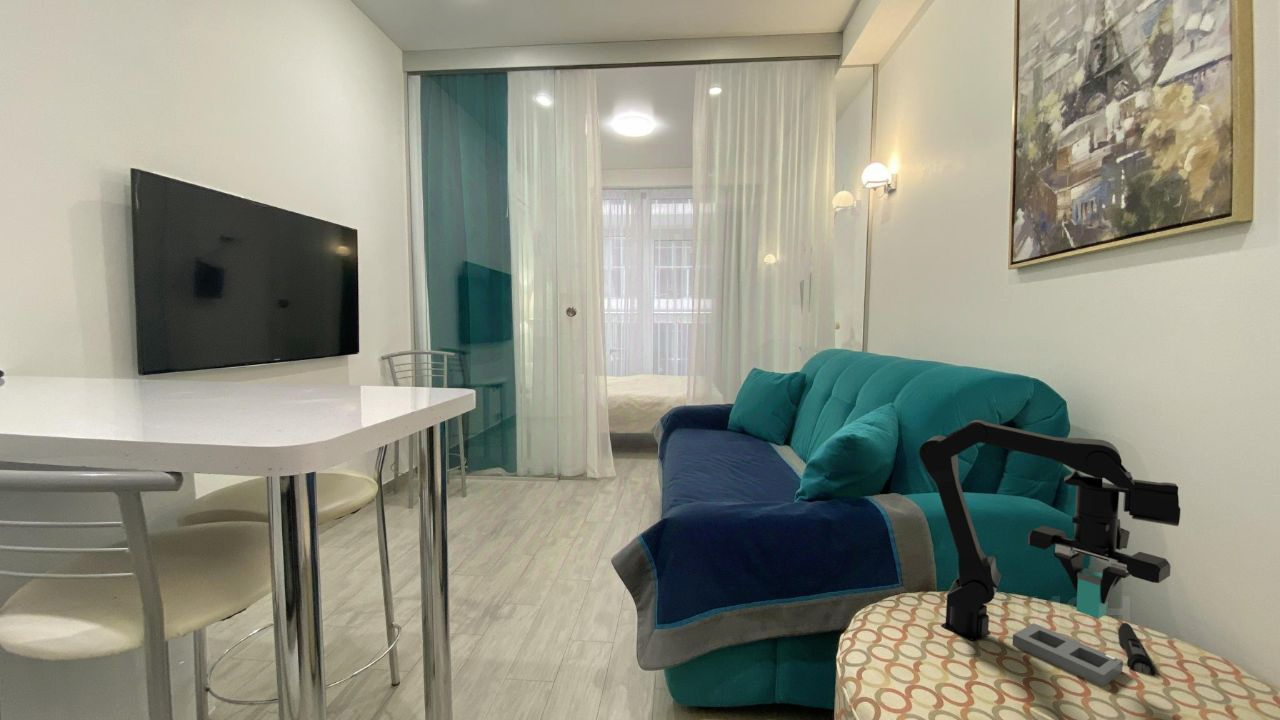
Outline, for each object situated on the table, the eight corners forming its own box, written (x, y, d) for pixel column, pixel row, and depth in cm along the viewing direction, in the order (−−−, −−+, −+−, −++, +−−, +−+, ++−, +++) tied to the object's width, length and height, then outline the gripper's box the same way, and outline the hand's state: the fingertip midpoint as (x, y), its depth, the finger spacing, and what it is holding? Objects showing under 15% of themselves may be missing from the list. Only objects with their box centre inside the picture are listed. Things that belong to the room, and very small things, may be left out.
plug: (1075, 610, 98) (1077, 572, 97) (1083, 605, 100) (1085, 568, 99) (1098, 619, 95) (1100, 580, 95) (1106, 614, 97) (1109, 575, 96)
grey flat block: (1012, 647, 105) (1013, 633, 105) (1032, 635, 109) (1033, 622, 109) (1102, 689, 93) (1103, 674, 93) (1122, 674, 97) (1123, 659, 97)
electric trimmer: (1138, 640, 108) (1139, 624, 108) (1156, 681, 96) (1158, 663, 95) (1113, 634, 111) (1114, 619, 110) (1128, 673, 98) (1129, 656, 97)
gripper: (1184, 520, 92) (1178, 610, 93) (1055, 491, 108) (1052, 568, 109) (1160, 533, 87) (1154, 628, 88) (1028, 500, 103) (1024, 582, 104)
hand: (1091, 598), depth 97 cm, fingers closed on plug, 3 cm apart
